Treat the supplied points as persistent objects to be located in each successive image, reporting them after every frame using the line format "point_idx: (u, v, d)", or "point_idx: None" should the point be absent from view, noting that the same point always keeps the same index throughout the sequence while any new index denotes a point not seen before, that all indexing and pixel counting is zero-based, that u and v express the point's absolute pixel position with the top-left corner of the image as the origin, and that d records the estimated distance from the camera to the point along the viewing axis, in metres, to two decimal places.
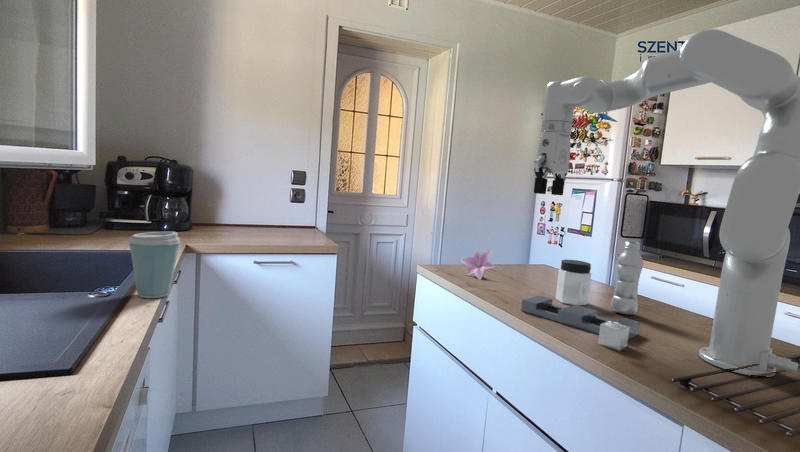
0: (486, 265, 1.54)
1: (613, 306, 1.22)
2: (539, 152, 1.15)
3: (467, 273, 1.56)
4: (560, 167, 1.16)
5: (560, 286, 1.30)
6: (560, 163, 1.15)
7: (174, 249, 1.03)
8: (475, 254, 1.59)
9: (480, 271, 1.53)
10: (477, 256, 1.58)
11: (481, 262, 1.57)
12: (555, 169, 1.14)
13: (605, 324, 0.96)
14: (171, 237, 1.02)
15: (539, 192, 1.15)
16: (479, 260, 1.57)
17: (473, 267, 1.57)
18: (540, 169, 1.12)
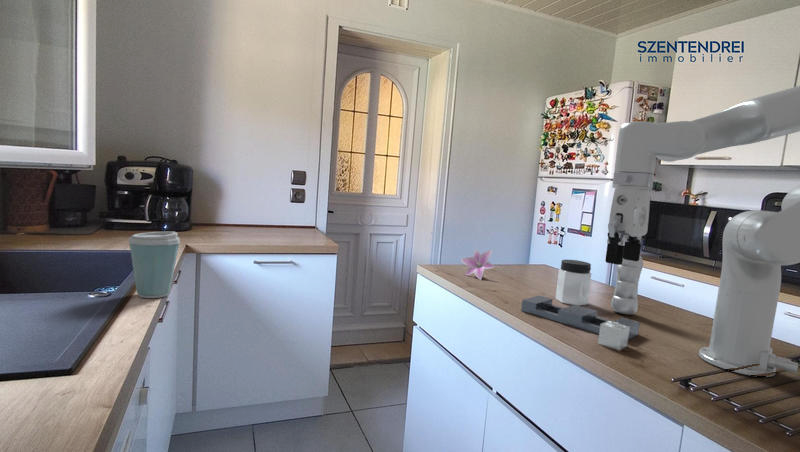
0: (486, 265, 1.54)
1: (613, 306, 1.22)
2: (612, 211, 0.91)
3: (467, 273, 1.56)
4: (639, 230, 0.91)
5: (560, 286, 1.30)
6: (639, 225, 0.91)
7: (174, 249, 1.03)
8: (475, 254, 1.59)
9: (480, 271, 1.53)
10: (477, 256, 1.58)
11: (481, 262, 1.57)
12: (634, 233, 0.90)
13: (605, 324, 0.96)
14: (171, 237, 1.02)
15: (613, 262, 0.91)
16: (479, 260, 1.57)
17: (473, 267, 1.57)
18: (616, 235, 0.88)
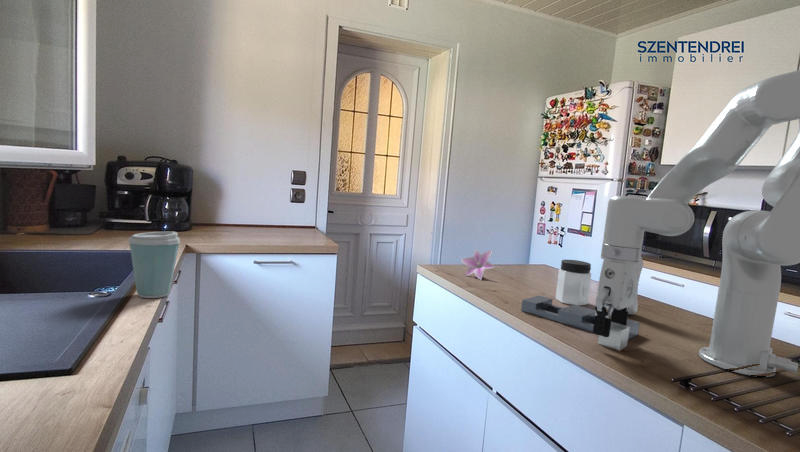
0: (486, 266, 1.54)
1: None
2: (601, 284, 0.92)
3: (467, 273, 1.56)
4: (626, 302, 0.93)
5: (560, 286, 1.30)
6: (627, 298, 0.92)
7: (174, 249, 1.03)
8: (475, 254, 1.59)
9: (481, 271, 1.53)
10: (477, 256, 1.58)
11: (481, 262, 1.56)
12: (621, 307, 0.91)
13: None
14: (171, 237, 1.02)
15: (601, 334, 0.92)
16: (479, 260, 1.57)
17: (473, 267, 1.56)
18: (604, 309, 0.90)
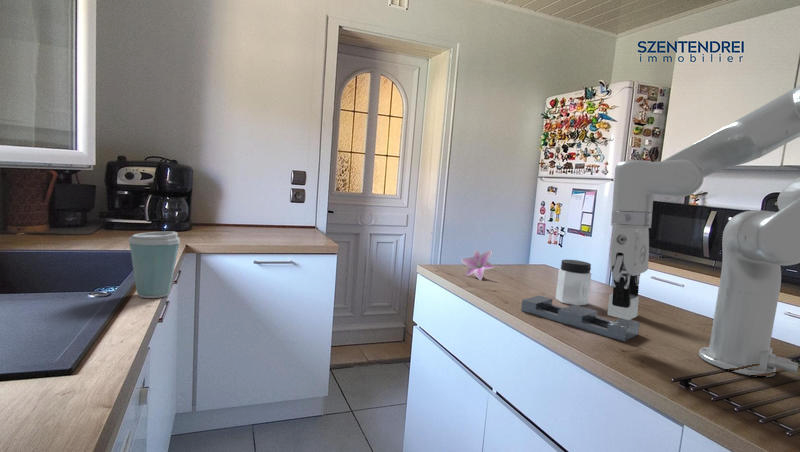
0: (487, 266, 1.53)
1: None
2: (613, 251, 0.91)
3: (467, 273, 1.55)
4: (640, 268, 0.92)
5: (560, 286, 1.30)
6: (640, 263, 0.91)
7: (174, 249, 1.03)
8: (475, 254, 1.58)
9: (481, 271, 1.53)
10: (477, 256, 1.58)
11: (481, 262, 1.56)
12: (636, 273, 0.90)
13: None
14: (171, 237, 1.02)
15: (620, 305, 0.93)
16: (479, 260, 1.57)
17: (473, 267, 1.56)
18: (622, 280, 0.90)
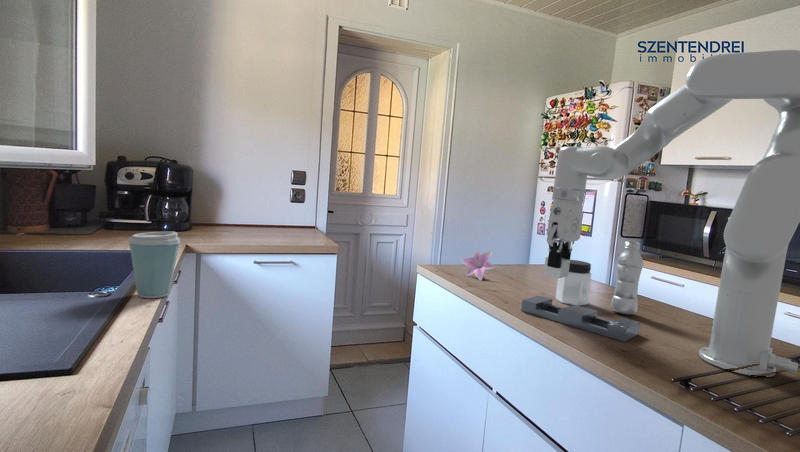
0: (487, 266, 1.53)
1: (613, 306, 1.22)
2: (550, 220, 1.10)
3: (467, 274, 1.55)
4: (571, 236, 1.11)
5: (560, 286, 1.30)
6: (572, 232, 1.10)
7: (174, 249, 1.03)
8: (475, 254, 1.58)
9: (481, 272, 1.52)
10: (477, 256, 1.57)
11: (481, 262, 1.56)
12: (566, 239, 1.09)
13: None
14: (171, 237, 1.02)
15: (553, 266, 1.12)
16: (479, 260, 1.56)
17: (473, 268, 1.56)
18: (555, 244, 1.09)
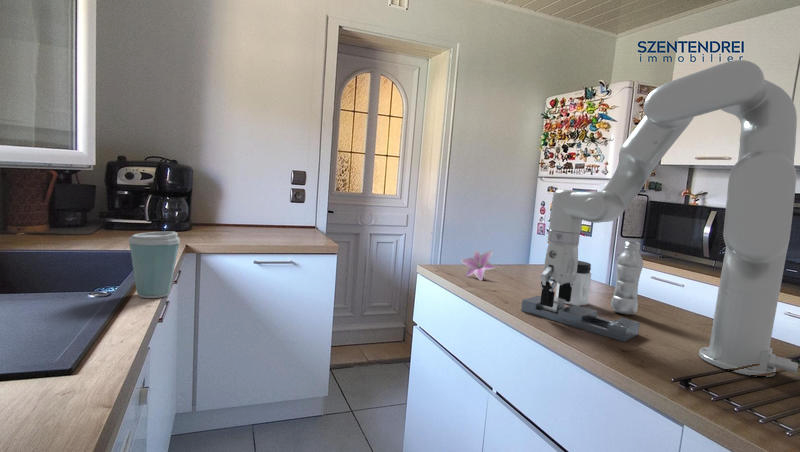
0: (487, 266, 1.53)
1: (613, 306, 1.22)
2: (546, 263, 1.11)
3: (467, 274, 1.55)
4: (567, 278, 1.11)
5: None
6: (568, 274, 1.11)
7: (174, 249, 1.03)
8: (475, 255, 1.57)
9: (481, 272, 1.52)
10: (477, 257, 1.57)
11: (481, 263, 1.55)
12: (563, 282, 1.10)
13: None
14: (171, 237, 1.02)
15: (546, 304, 1.11)
16: (479, 261, 1.56)
17: (474, 268, 1.55)
18: (547, 283, 1.08)
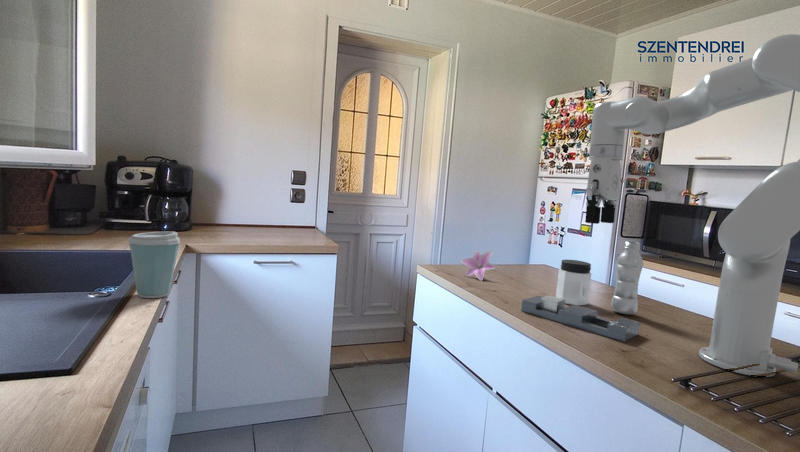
0: (487, 266, 1.52)
1: (613, 306, 1.22)
2: (590, 178, 1.07)
3: (467, 274, 1.54)
4: (613, 194, 1.07)
5: (560, 286, 1.30)
6: (613, 190, 1.07)
7: (174, 249, 1.03)
8: (475, 255, 1.57)
9: (481, 272, 1.51)
10: (477, 257, 1.56)
11: (481, 263, 1.55)
12: (608, 196, 1.05)
13: (545, 297, 1.15)
14: (171, 237, 1.02)
15: (592, 221, 1.06)
16: (479, 261, 1.56)
17: (474, 268, 1.55)
18: (593, 197, 1.04)
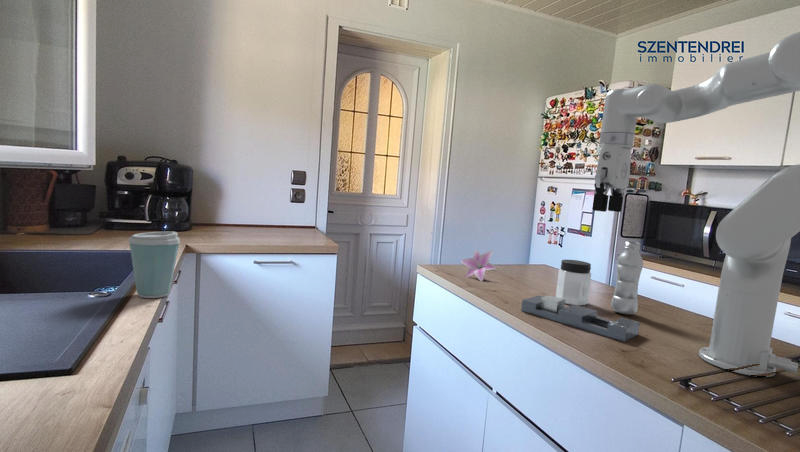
0: (487, 266, 1.52)
1: (613, 306, 1.22)
2: (599, 166, 1.06)
3: (468, 274, 1.54)
4: (621, 182, 1.07)
5: (560, 286, 1.30)
6: (621, 178, 1.06)
7: (174, 249, 1.03)
8: (475, 255, 1.57)
9: (481, 272, 1.51)
10: (477, 257, 1.56)
11: (481, 263, 1.55)
12: (617, 185, 1.05)
13: (545, 297, 1.15)
14: (171, 237, 1.02)
15: (599, 209, 1.06)
16: (479, 261, 1.55)
17: (474, 268, 1.55)
18: (601, 185, 1.04)
